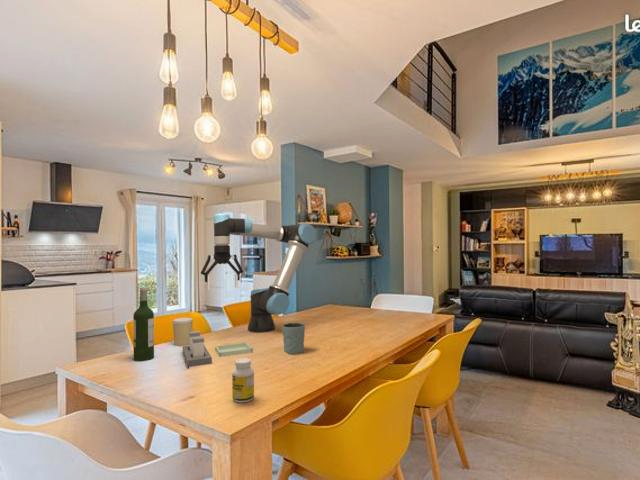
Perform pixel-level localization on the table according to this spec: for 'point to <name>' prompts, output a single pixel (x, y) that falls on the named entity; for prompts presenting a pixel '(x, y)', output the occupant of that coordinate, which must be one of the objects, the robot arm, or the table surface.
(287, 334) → the grey-green cup
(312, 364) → the table surface
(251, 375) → the pill bottle
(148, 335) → the wine bottle
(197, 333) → the twin plug
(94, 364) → the table surface
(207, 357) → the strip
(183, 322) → the coffee cup
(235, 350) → the tray
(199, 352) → the plug
